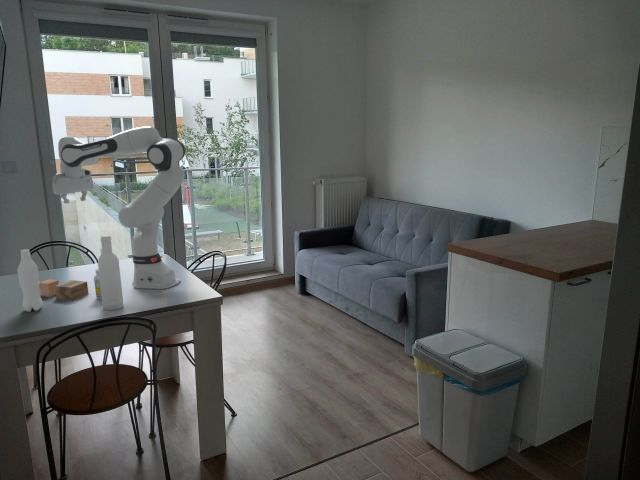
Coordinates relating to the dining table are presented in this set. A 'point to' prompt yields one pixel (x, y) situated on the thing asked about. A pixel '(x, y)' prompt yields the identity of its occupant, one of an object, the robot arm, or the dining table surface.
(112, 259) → the bottle
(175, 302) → the dining table surface
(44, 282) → the brown cardboard box
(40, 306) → the water bottle
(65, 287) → the walnut box
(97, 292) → the supplement bottle
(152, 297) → the dining table surface
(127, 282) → the dining table surface
